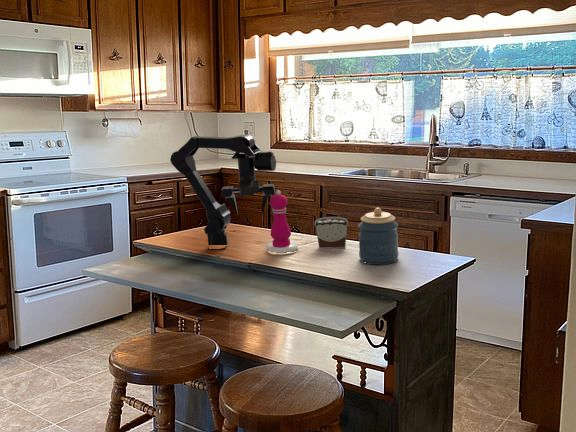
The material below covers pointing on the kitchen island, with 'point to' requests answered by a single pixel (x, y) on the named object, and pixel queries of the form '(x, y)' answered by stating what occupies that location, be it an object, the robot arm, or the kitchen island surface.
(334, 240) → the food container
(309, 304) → the kitchen island surface
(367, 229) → the canister
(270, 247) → the stand
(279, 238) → the pepper mill
